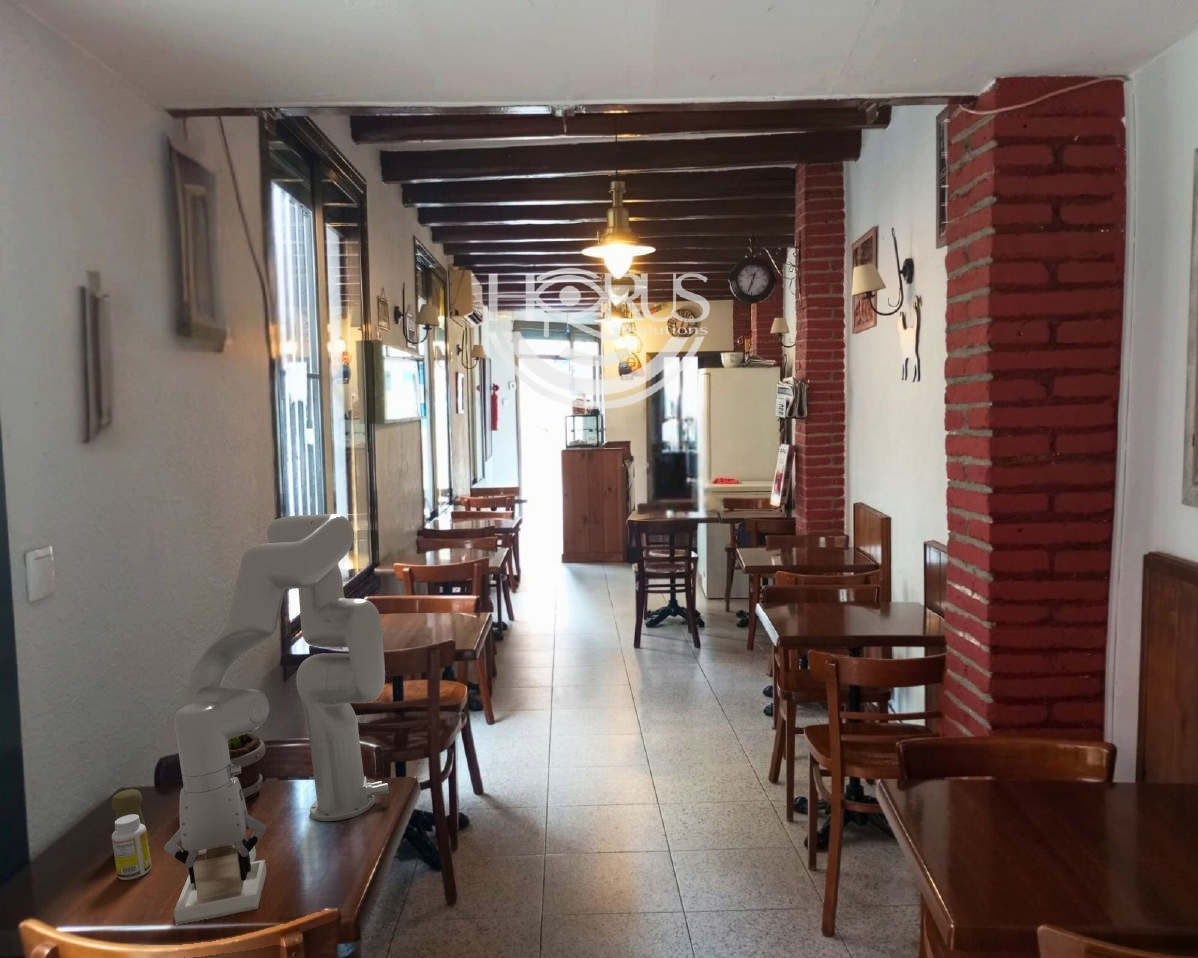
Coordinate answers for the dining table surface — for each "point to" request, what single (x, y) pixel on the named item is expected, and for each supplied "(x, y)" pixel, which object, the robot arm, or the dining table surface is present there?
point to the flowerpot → (247, 762)
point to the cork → (129, 805)
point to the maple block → (217, 872)
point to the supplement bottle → (131, 848)
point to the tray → (221, 898)
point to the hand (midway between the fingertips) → (221, 880)
